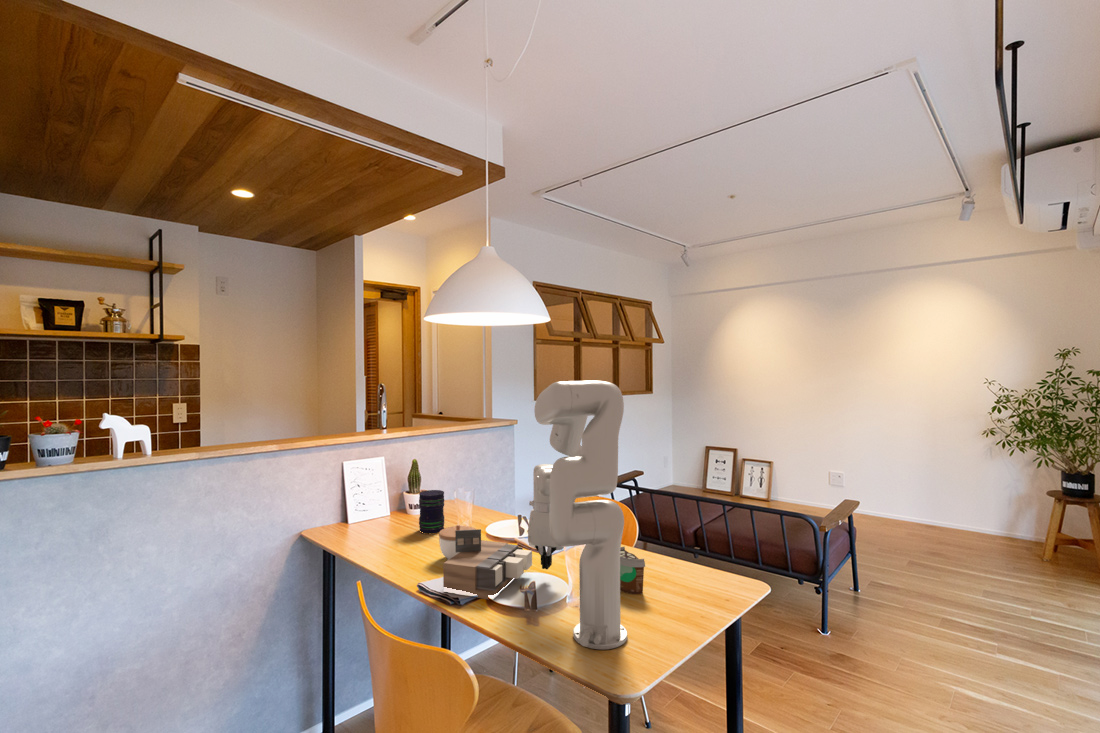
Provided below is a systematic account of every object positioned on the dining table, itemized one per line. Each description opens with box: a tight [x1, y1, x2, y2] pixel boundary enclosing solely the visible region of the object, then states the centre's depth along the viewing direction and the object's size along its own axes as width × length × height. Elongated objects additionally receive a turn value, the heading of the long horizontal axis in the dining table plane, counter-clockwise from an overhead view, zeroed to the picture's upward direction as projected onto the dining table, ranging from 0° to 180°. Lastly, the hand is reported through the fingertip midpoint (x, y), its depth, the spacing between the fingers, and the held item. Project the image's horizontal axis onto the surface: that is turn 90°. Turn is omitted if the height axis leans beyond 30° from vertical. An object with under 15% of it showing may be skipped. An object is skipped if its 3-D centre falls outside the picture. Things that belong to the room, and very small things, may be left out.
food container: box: [620, 546, 646, 595], centre depth 150 cm, size 12×6×10 cm, turn 21°
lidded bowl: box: [438, 524, 477, 561], centre depth 176 cm, size 13×13×11 cm
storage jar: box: [418, 489, 445, 534], centre depth 208 cm, size 10×10×15 cm
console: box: [442, 528, 525, 600], centre depth 156 cm, size 22×17×15 cm
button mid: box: [503, 557, 524, 580], centre depth 153 cm, size 4×5×4 cm
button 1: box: [491, 564, 502, 586], centre depth 147 cm, size 4×5×4 cm
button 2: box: [513, 549, 533, 571], centre depth 159 cm, size 4×5×4 cm
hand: (546, 567), depth 157 cm, fingers closed
